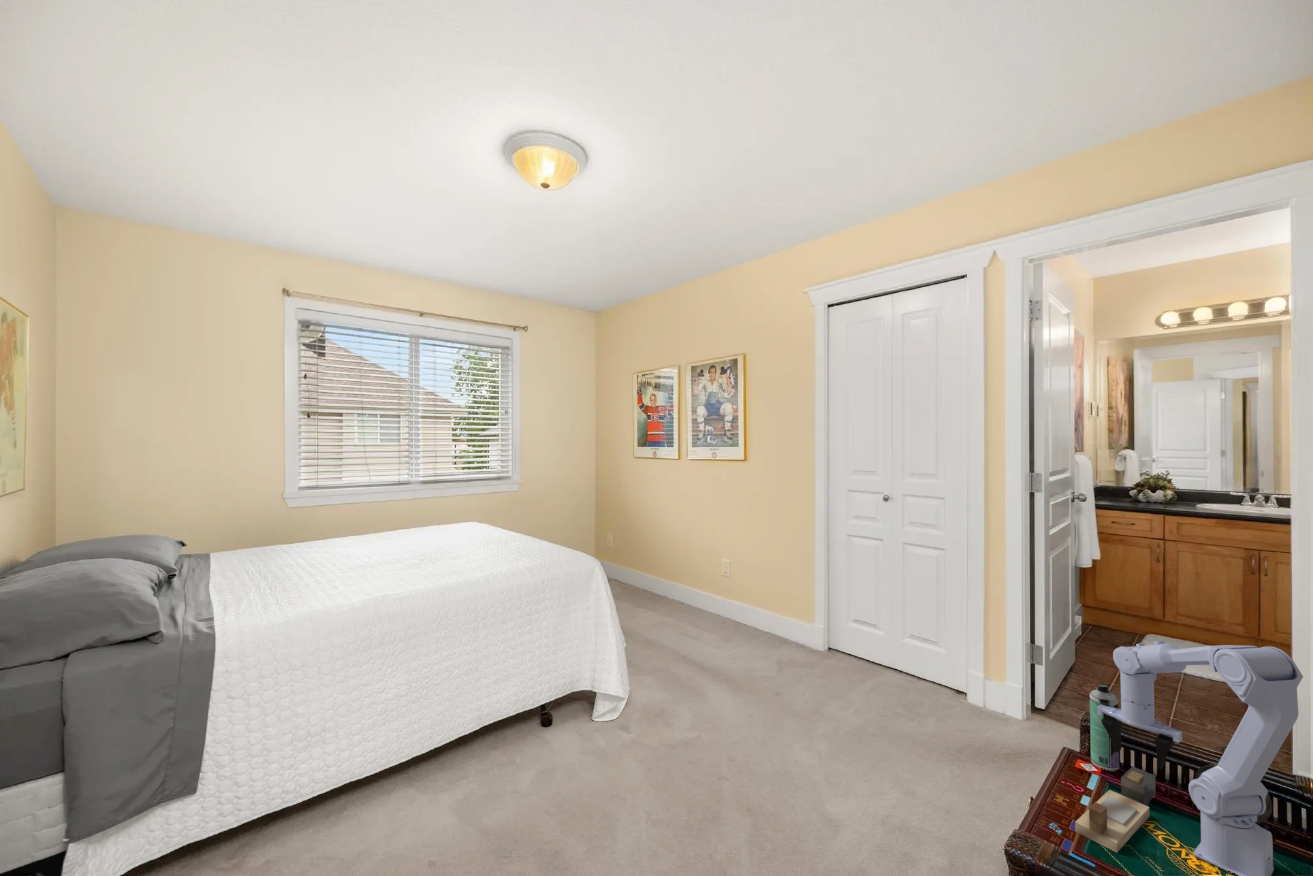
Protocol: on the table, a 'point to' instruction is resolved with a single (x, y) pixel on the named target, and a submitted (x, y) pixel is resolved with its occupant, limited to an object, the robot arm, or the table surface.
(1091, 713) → the spray can
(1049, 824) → the table surface
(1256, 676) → the robot arm
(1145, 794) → the lever cap
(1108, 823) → the hand plane
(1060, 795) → the table surface
